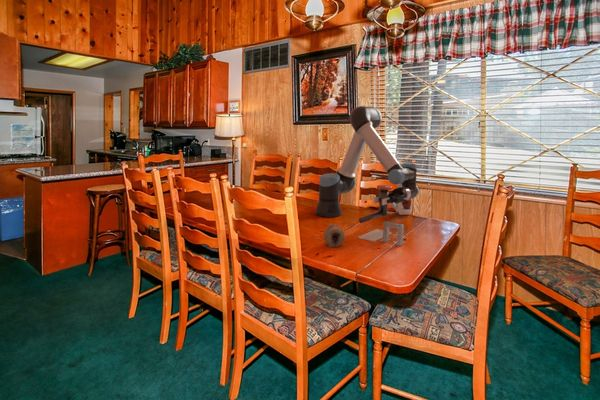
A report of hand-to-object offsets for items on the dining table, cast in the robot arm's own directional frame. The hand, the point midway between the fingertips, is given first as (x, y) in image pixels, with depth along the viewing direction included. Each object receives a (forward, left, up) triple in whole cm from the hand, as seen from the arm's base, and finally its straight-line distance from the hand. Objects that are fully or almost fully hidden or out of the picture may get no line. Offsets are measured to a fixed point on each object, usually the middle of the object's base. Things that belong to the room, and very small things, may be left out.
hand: (378, 201), depth 179 cm
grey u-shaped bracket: (+11, -5, -17) cm, 20 cm away
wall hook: (-24, +56, -17) cm, 64 cm away
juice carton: (-10, +50, -17) cm, 54 cm away
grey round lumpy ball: (-6, -26, -17) cm, 31 cm away
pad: (0, -1, -17) cm, 17 cm away
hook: (0, -3, -8) cm, 8 cm away
